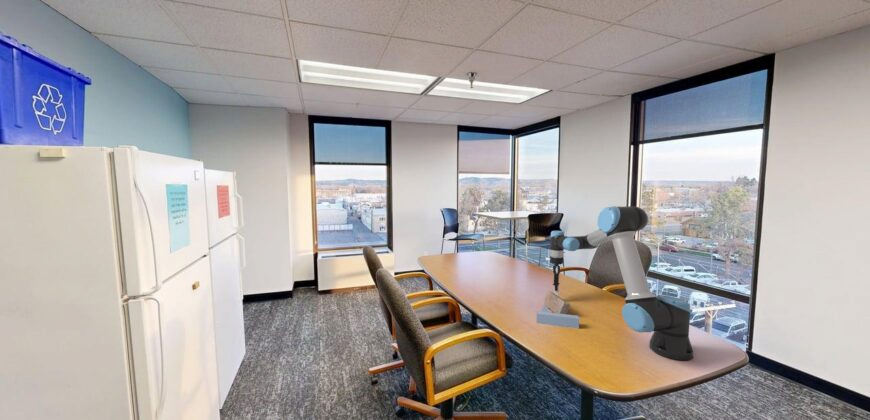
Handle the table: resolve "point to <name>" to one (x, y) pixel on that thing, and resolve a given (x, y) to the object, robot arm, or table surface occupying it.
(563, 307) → the brick
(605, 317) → the table surface
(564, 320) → the board
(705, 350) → the table surface
